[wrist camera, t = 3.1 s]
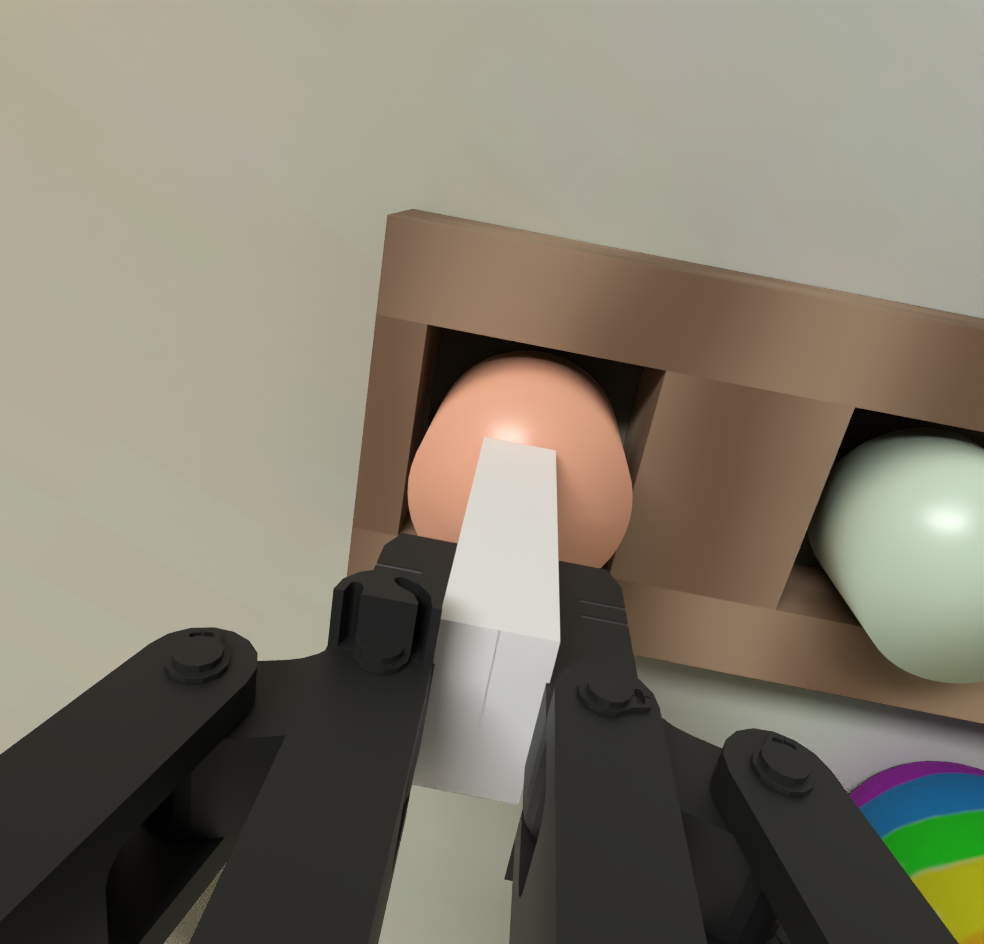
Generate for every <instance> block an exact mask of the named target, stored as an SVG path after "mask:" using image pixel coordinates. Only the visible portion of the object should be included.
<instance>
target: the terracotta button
mask: <svg viewBox="0 0 984 944" xmlns="http://www.w3.org/2000/svg"><path fill="white" fill-rule="evenodd" d="M484 437H488V438H494V439H499V440H504V441H509V442H514V443H520V444H525V445H530V446H535V447H541V448H546V449H551V450H556V480H557V523H558V560H559V561H564V562H569V563H574V564H579V565H585V566H590V567H595V568H601V567H602V566H603V565H604V564H605V563H606V562H607V561H608V560H609V559H610V558H611V556H612V555H613V554H614V552H615V551H616V550H617V548H618V547H619V545H620V543H621V541H622V539H623V537H624V535H625V533H626V530H627V527H628V524H629V521H630V516H631V511H632V500H633V493H632V482H631V478H630V473H629V469H628V465H627V461H626V457H625V453H624V449H623V445H622V441H621V437H620V433H619V429H618V424H617V420H616V416H615V413H614V410H613V408H612V405H611V403H610V401H609V399H608V397H607V396H606V394H605V392H604V391H603V389H602V388H601V387H600V386H599V384H598V383H597V382H596V381H595V380H594V379H593V378H592V377H591V376H590V375H589V374H588V373H587V372H585V371H584V370H583V369H581V368H580V367H579V366H577V365H575V364H573V363H572V362H570V361H568V360H566V359H563V358H561V357H558V356H556V355H552V354H548V353H544V352H537V351H514V352H506V353H503V354H499V355H495V356H492V357H490V358H488V359H485V360H483V361H481V362H479V363H478V364H476V365H474V366H472V367H471V368H470V369H469V370H467V371H466V372H465V373H463V374H462V375H461V376H460V377H459V378H458V379H457V380H456V381H455V382H454V384H453V385H452V386H451V388H450V389H449V390H448V392H447V394H446V395H445V397H444V399H443V401H442V403H441V405H440V407H439V409H438V411H437V413H436V415H435V417H434V419H433V421H432V423H431V425H430V427H429V429H428V431H427V433H426V435H425V437H424V439H423V441H422V443H421V445H420V447H419V448H418V450H417V452H416V455H415V458H414V460H413V463H412V466H411V470H410V474H409V479H408V506H409V510H410V515H411V519H412V522H413V525H414V528H415V530H416V533H417V534H418V536H422V537H427V538H432V539H437V540H443V541H448V542H453V543H458V541H459V537H460V533H461V529H462V525H463V520H464V516H465V512H466V508H467V504H468V500H469V496H470V492H471V488H472V484H473V480H474V476H475V472H476V468H477V464H478V460H479V456H480V452H481V448H482V443H483V439H484Z"/></svg>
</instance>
